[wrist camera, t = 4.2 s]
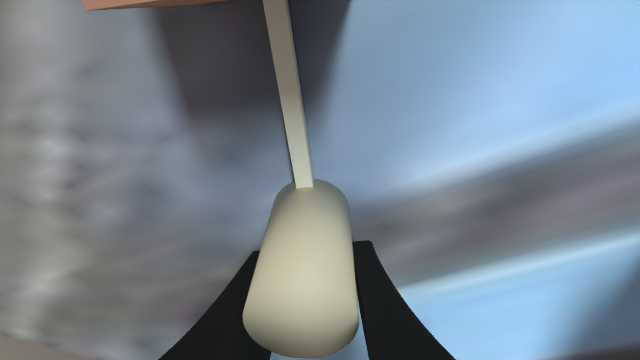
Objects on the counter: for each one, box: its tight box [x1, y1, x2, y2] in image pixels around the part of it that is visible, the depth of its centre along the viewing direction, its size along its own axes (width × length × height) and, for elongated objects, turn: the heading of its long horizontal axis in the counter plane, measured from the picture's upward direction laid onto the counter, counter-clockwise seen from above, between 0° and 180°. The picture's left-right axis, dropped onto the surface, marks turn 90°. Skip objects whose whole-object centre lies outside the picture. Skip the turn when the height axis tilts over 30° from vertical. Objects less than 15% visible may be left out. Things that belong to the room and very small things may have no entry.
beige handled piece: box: [81, 0, 359, 358], centre depth 8 cm, size 4×14×5 cm, turn 7°
